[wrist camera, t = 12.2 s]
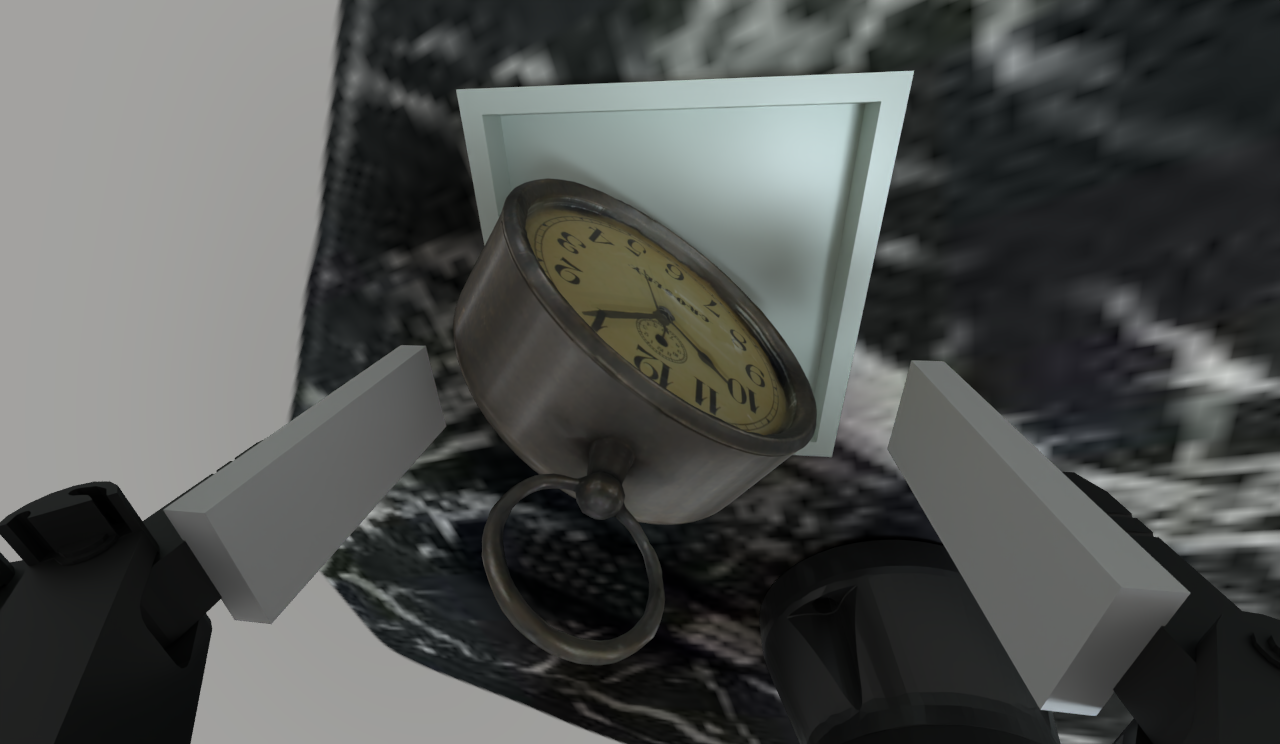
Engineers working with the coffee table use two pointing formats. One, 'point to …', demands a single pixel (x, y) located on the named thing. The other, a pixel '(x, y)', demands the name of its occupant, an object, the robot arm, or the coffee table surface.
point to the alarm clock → (619, 380)
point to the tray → (725, 185)
